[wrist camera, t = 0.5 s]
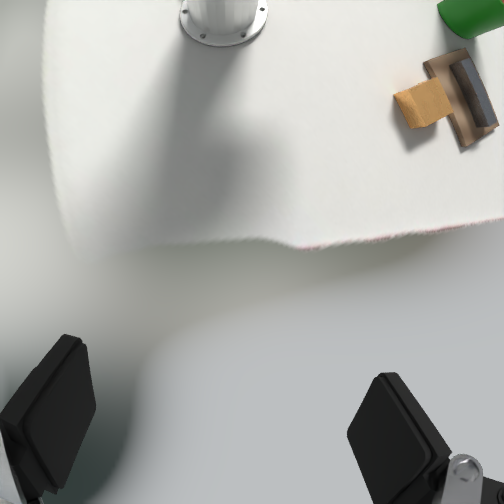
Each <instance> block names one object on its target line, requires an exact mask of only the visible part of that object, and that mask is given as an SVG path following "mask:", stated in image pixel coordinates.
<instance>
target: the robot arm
mask: <svg viewBox="0 0 504 504" xmlns="http://www.w3.org/2000/svg"><path fill="white" fill-rule="evenodd" d="M261 11H263V12H261ZM185 13H186V14H185ZM267 15H268V7H267V3H266V1H265V0H184V1H183V3H182V5H181V9H180V20H181V24H182V26H183V28H184V30H185V31H186V32H187V34H188V35H190V36H191V37H192V38H193V39H195V40H197V41H198V42H201V43H203V44H206V45H211V46H222V47H224V46H232V45H236V44H240V43H243V42H245V41H247V40H249V39H251V38H252V37H254V36H255V35H256V34H257V33H258V32H260V30H261V29H262V28H263V26H264V24H265V22H266V19H267ZM242 36H244V37H242ZM203 37H205V38H204V39H202V38H203ZM95 410H96V402H95V397H94V392H93V386H92V380H91V374H90V367H89V360H88V352H87V346H86V345H85V344H83V343H82V340H81V339H80V338H77V337H74V336H71V335H67V334H64V335H62V336H61V337H60V339H59V340H58V341H57V342H56V343H55V345H54V346H53V347H52V349H51V350H50V351H49V352H48V353H47V354H46V356H45V357H44V358H43V359H42V361H41V362H40V363H39V365H38V366H37V367H35V368H34V369H33V370H32V371H31V373H30V374H29V375H28V377H27V378H26V379H25V381H24V382H23V383H22V384H21V386H20V387H19V388H18V390H17V391H16V392H15V394H14V395H13V397H12V398H11V399H10V401H9V402H8V403H7V405H6V406H5V408H4V409H3V411H2V412H1V413H0V504H43V501H42V499H41V496H42V494H43V492H44V490H46V491H49V492H51V493H54V494H57V491H58V489H59V488H60V489H62V488H64V485H65V484H66V481H67V478H68V476H69V473H70V471H71V468H72V466H73V463H74V461H75V458H76V456H77V453H78V450H79V448H80V446H81V444H82V441H83V439H84V437H85V434H86V432H87V430H88V427H89V425H90V422H91V420H92V418H93V416H94V413H95ZM347 438H348V440H349V443H350V445H351V448H352V450H353V453H354V455H355V458H356V460H357V463H358V465H359V468H360V470H361V473H362V476H363V478H364V481H365V483H366V486H367V488H368V491H369V493H370V496H371V498H372V501H373V504H504V483H502V482H499V481H495V480H492V479H489V478H486V477H483V469H482V467H481V465H480V463H479V462H478V461H477V460H476V459H475V458H474V457H472V456H469V455H466V454H458V455H456V456H454V457H453V458H452V459H451V460H450V459H449V458H448V457H449V455H450V454H451V453H452V451H451V450H450V448H449V447H448V445H447V444H446V443H445V441H444V439H443V438H442V436H441V435H440V434H439V432H438V430H437V429H436V427H435V426H434V424H433V423H432V422H431V420H430V419H429V417H428V416H427V414H426V413H425V411H424V410H423V409H422V407H421V406H420V404H419V403H418V402H417V400H416V399H415V397H414V396H413V394H412V393H411V392H410V390H409V389H408V387H407V386H406V385H405V383H404V382H403V381H402V379H401V378H400V376H399V375H398V374H397V373H395V372H389V373H380V374H379V375H378V376H377V377H375V378H374V379H373V381H372V383H371V386H370V388H369V390H368V392H367V394H366V396H365V398H364V400H363V402H362V403H361V405H360V407H359V409H358V411H357V413H356V415H355V417H354V419H353V421H352V422H351V424H350V426H349V428H348V431H347Z"/></svg>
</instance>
